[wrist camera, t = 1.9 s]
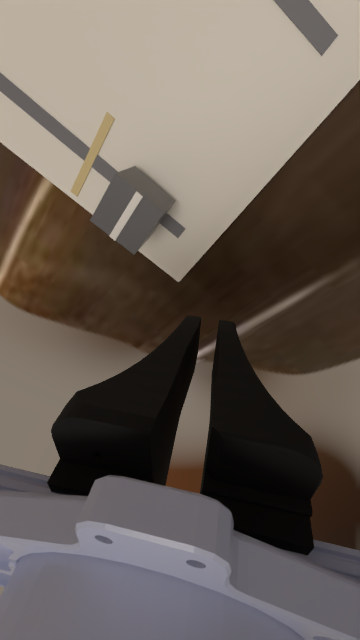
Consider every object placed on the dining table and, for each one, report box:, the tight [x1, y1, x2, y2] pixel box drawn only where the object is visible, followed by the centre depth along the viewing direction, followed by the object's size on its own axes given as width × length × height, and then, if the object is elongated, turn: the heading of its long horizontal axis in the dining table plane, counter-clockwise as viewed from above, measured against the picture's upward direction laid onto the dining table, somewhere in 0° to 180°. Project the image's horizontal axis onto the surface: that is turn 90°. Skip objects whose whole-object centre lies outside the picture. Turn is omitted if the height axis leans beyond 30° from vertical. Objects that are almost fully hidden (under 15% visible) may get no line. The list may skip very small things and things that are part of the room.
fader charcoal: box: [90, 166, 175, 255], centre depth 16 cm, size 3×3×3 cm
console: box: [0, 0, 360, 282], centre depth 15 cm, size 18×17×2 cm
